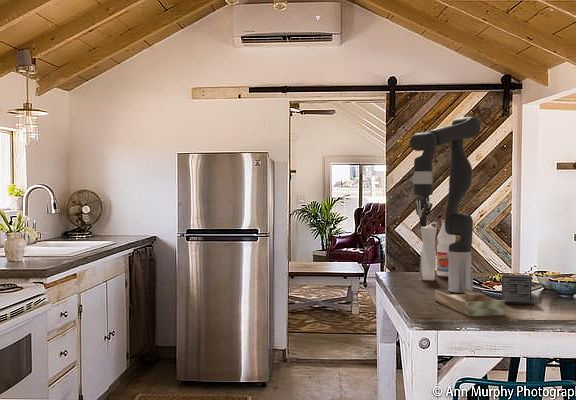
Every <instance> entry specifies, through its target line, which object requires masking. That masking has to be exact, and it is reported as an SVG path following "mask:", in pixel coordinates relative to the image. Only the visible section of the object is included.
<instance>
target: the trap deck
mask: <svg viewBox="0 0 576 400" xmlns="http://www.w3.org/2000/svg"><path fill="white" fill-rule="evenodd" d="M468 292H474V290H473V291H470V290H467V289H465V293H468ZM465 293H459V294H447V293H444V292H442V291H439V290H436V289H435V290H434V301H436V302H437V301H438V303H439V302H440V304H441V303H442V304H441V305H444V306H446V307H448V308H449V309H453V310H454V311H456V312H459V313H461V314H464V315H465V316H468V317H483V316H484V317H485V316H505V314H506V311H505V310H506V309H505V308H506V307H505V305H506V303H505V300H502V299H501V300H498V299H493V298H492V297H489V296H486V300H485V301H468V302H465Z"/></svg>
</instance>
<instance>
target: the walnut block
mask: <svg viewBox="0 0 576 400" xmlns="http://www.w3.org/2000/svg"><path fill="white" fill-rule="evenodd" d="M464 294H465V302H468V301H485V300H486V297H487V295H486V294H484V293H482V292H480V291H473V292H468V293H464Z"/></svg>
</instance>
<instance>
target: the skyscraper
mask: <svg viewBox="0 0 576 400" xmlns="http://www.w3.org/2000/svg"><path fill="white" fill-rule="evenodd" d="M433 224H436V227H433V226H432V225H433ZM437 229H438V222H431V223H430V224H429V225H427V224H426V226H425V227H421V226H420V230H421V241H422V249H421V253H420V261H419V278H418V279H419V281H435V278H436V277H435V275H436V269H437V249H436V246H435V244H436V239H437Z"/></svg>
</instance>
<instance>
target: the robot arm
mask: <svg viewBox="0 0 576 400" xmlns="http://www.w3.org/2000/svg"><path fill="white" fill-rule="evenodd" d="M480 131H481V124H480V120H479V119H478V118H476V117H475V116H464V117H458V118H457V117H456V118H455V119H454V120H452V123H451V125H446V126H441V127H437V128H435V129H431V130H428V131H423V132H422V131H421V132H416V133H415V134H413V135H412V136H411V137H410V139H409V146H410V148H411V149H412V150H414V151H416V152H422V153H421V155H420V156H417V157H415V158H414V161H413V162H414V163H413V179H412V181H413V189H412V190H413V191H412V193H413V195H414V196H416V202H414V203H413V206H414V209H415V212H416V215H417V216H418V217H419V227H420V228H421V227H425V226H427V217H428V216H430V213H431V210H432V207H433V203H431V202H430V196H433V192H434V189H433V187H434V185H433V184H434V183H433V182H434V180H433V178H434V176H433V160H434V156H435V152H436V149H437V147H439V146H442V145H445V144H448V143H450V147H451V149H450V152H451V153H450V167H449V176H448V177H449V179H448V197H447V205H446V211H445V217H444V220H445V231H446V233H447V234H449V235H455V236H460V237H459V240H457V241H455V243H452V244H450V245H449V272H448V277H447V278H448V280H447V281H448V284H447V285H448V286H447V287H448V288H447V290H448V292H451V293H457V294H458V293H459V294H465V289H467V290H470V291H473V292H474V269H472V247H473V246H472V245H473V233H474V232H473V230H474V219H473V218H472V215H471V214H467V213H458V210H459V205H460V203H461V200H462V199H463V198H464V197H465V196H466V195H465V194H467V192H468V191H469V189H470V187H471V185H472V177H473V166H472V165H471V161H469V159H468V157H467V155H466V153H465V149H464V140H465V139H471V138H472V139H473V138H475V137H477V136H478V135H479V134H480Z"/></svg>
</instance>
